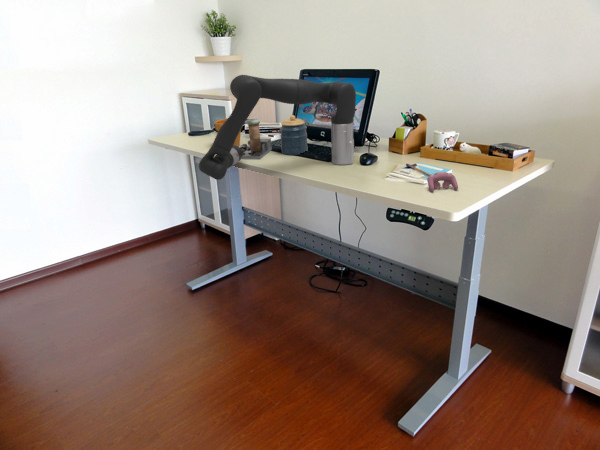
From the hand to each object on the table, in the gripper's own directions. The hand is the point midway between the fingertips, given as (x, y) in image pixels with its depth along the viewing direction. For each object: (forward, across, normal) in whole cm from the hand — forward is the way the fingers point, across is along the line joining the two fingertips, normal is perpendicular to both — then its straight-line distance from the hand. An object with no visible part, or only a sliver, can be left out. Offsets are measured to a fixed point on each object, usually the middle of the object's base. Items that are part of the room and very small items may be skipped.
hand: (245, 146), depth 187 cm
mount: (+13, 0, +7) cm, 15 cm away
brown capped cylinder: (+13, 0, +5) cm, 14 cm away
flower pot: (+29, +20, +7) cm, 36 cm away
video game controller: (-29, -84, +7) cm, 89 cm away
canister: (+18, -18, +7) cm, 26 cm away
